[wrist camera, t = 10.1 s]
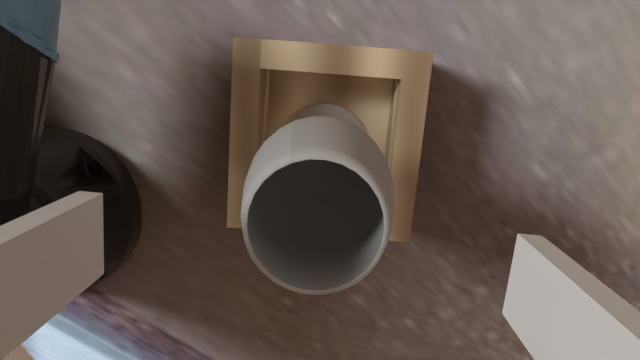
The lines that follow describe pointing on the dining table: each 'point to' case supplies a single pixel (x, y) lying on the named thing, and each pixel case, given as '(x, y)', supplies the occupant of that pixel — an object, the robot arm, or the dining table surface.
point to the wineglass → (318, 203)
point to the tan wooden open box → (337, 89)
